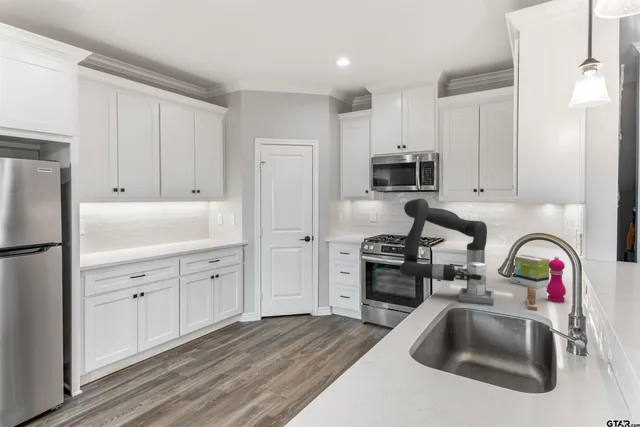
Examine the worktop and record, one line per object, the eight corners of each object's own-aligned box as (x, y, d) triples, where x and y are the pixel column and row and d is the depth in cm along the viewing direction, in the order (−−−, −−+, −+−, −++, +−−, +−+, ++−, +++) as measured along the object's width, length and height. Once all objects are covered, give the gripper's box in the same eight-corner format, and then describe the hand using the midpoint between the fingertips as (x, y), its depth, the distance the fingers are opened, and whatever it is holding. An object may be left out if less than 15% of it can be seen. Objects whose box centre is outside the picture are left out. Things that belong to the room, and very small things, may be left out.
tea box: (509, 282, 190) (510, 255, 189) (522, 280, 194) (522, 254, 193) (537, 289, 176) (537, 259, 175) (549, 286, 180) (550, 258, 180)
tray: (461, 293, 169) (461, 287, 169) (493, 297, 163) (493, 290, 163) (458, 301, 157) (458, 295, 157) (493, 305, 150) (493, 298, 150)
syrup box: (476, 292, 164) (476, 261, 163) (486, 295, 158) (486, 263, 157) (466, 293, 162) (466, 262, 161) (476, 297, 156) (476, 264, 155)
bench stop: (525, 300, 157) (526, 283, 157) (533, 301, 156) (533, 284, 156) (528, 309, 145) (528, 291, 144) (537, 310, 143) (537, 292, 143)
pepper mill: (559, 298, 160) (560, 254, 159) (569, 303, 153) (570, 257, 152) (543, 298, 160) (543, 254, 160) (551, 302, 153) (552, 257, 152)
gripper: (441, 267, 159) (481, 270, 152) (445, 261, 172) (481, 264, 165) (441, 283, 159) (480, 287, 152) (445, 277, 172) (481, 280, 165)
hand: (481, 275), depth 159 cm, fingers closed on syrup box, 7 cm apart
